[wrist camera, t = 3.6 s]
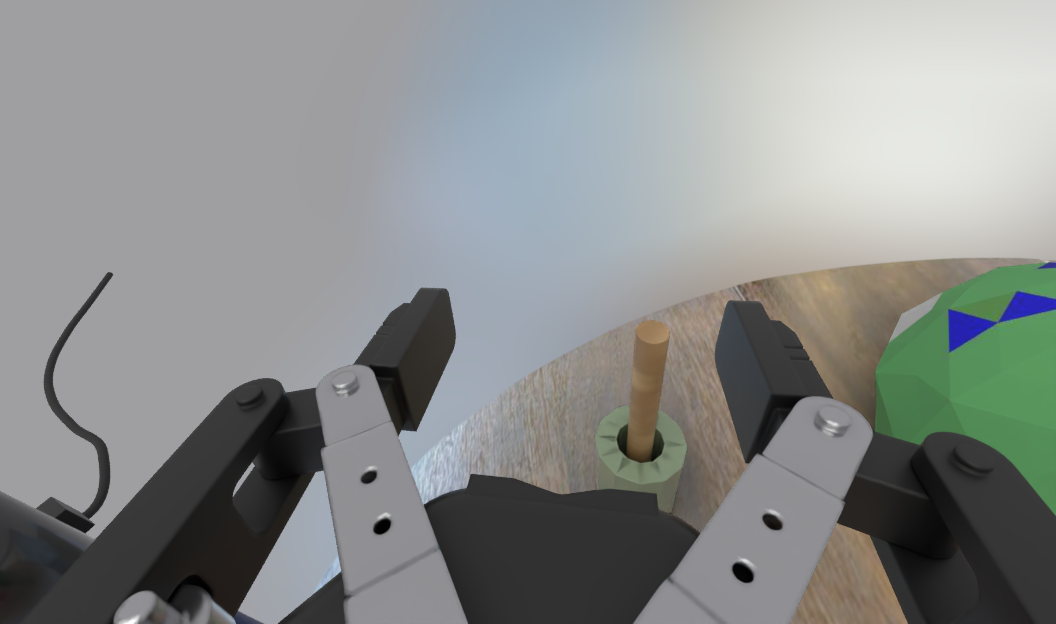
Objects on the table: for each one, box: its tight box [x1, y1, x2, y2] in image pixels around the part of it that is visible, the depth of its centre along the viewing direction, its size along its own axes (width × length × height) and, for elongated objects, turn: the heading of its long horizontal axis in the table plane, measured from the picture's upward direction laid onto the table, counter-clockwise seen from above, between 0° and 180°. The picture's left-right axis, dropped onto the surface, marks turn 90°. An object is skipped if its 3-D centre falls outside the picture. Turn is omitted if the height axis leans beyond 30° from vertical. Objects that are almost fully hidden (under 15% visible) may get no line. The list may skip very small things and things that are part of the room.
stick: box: [626, 320, 670, 463], centre depth 29 cm, size 2×2×18 cm
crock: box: [595, 406, 687, 513], centre depth 33 cm, size 6×6×8 cm
